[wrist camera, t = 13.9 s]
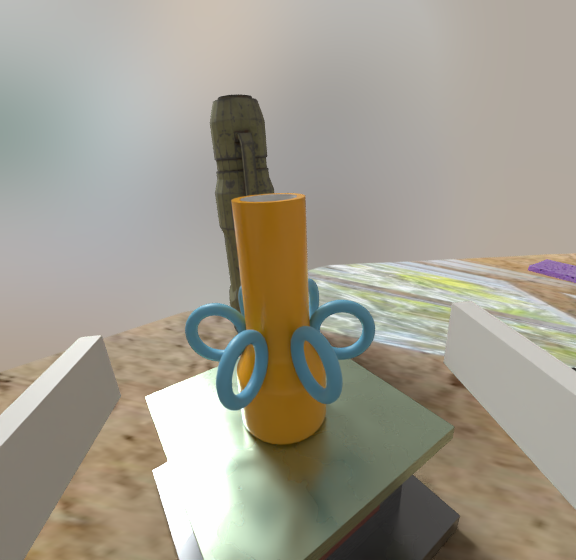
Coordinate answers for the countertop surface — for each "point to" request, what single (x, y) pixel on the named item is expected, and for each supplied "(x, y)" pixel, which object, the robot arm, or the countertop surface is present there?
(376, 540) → the grey green pedestal stand
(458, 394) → the countertop surface
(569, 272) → the sponges
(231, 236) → the thermos
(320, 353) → the cylinder
